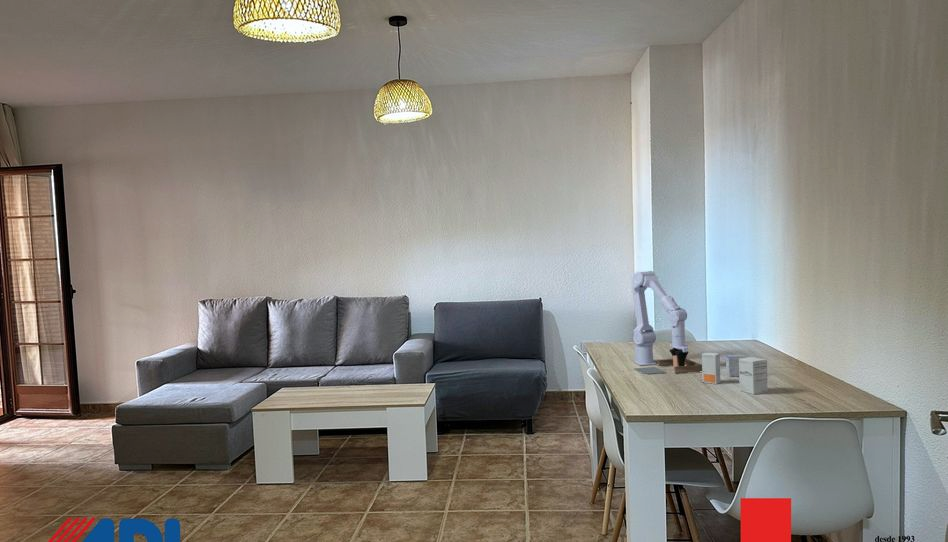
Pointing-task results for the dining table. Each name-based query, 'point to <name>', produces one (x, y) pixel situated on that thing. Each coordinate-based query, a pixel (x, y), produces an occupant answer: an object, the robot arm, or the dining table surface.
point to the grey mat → (649, 370)
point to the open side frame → (689, 367)
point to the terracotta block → (675, 361)
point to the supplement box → (753, 375)
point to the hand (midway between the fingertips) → (679, 365)
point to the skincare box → (711, 368)
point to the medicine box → (733, 364)
